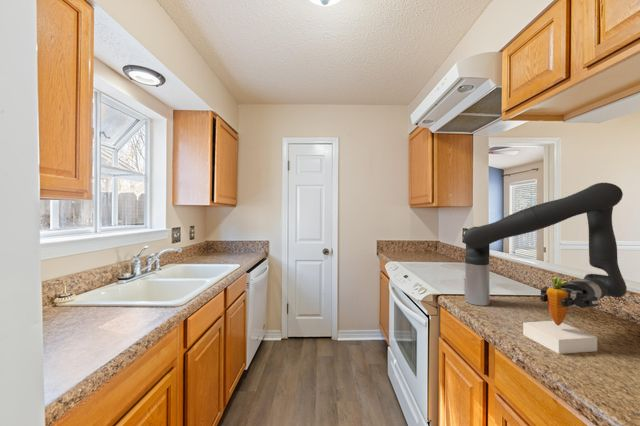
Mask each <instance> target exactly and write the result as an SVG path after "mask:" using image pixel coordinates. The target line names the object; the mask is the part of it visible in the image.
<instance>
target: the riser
mask: <svg viewBox="0 0 640 426" xmlns="http://www.w3.org/2000/svg"><path fill="white" fill-rule="evenodd" d="M522 323H523V325H522V326H523V327H522V328H523V329H522V330H523V336H525V337H526V338H529V339H530V340H532V341H534V342H535V343H538V344H540V345H542V346H544V347H545V348H547V349H549V350H550V351H553V352H554V353H556V354H558V355H559V354H560V355H563V354H564V355H565V354H577V353H588V352H591V353H592V352H598V337H597V336H595V335H593V334H590V333H588V332H586V331H583V330H582V329H581V330H580V329H578V328H576V327H574V326H571V325H570V324H567V323H564V322H562V323H561V324H560V325H559V326H557V325H556V324H555V322H554V321H553V320H541V321H529V322H528V321H526V322H522Z"/></svg>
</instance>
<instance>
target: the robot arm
mask: <svg viewBox="0 0 640 426" xmlns="http://www.w3.org/2000/svg"><path fill="white" fill-rule="evenodd" d="M623 195H624V193H623V190H622V189H621V188H620V187H619V186H618V185H616V184H614V183H611V182H597V183H594V184H591V185H590V186H588V187H586V188H584V189H582V190H580V191H578V192H575V193H573V194H570V195H567V196H566V197H562V198H558V199H554V200H549V201H546V202H542V203H539V204H538V203H537V204H536V205H532V206H529V207H526V208H524V209H521V210H518V211H516V212H513V213H512V214H509V215H507V216H505V217H503V218H502V219H499V220H496V221H495V222H492V223H487V224H484V225H481V226H480V225H479V226H473V227H469V228H468V229H467V230H466V231H465V232H464V234H463V242H464V244H465V256H464V269H465V270H464V272H465V275H464V277H465V278H464V280H463V281H464V282H463V283H464V286H463V287H464V288H463V289H464V300H465V302H466V303H468V304H471V305H476V306H489V305H490V304H491V303H490V302H491V300H490V297H491V296H490V293H491V289H490V286H491V285H490V255H491V254H490V245H491V244H493V243H495V242H497V241H501V240H503V239H508V238H512V237H517V236H522V235H524V234H529V233H532V232H536V231H539V230H542V229H545V228H548V227H551V226H554V225H556V224H559V223H561V222H563V221H565V220H568V219H570V218H572V217H577V216H580V215H582V214H586V217H587V224H588V225H587V226H588V262H589V266H591V267H593V268H596V269H598V270H599V269H600V270H602V271H604V272H605V273H606V274H599V273H588V274H585V276H584V278H583V279H576V280H572V281H567V282H568V283H565V284H564V285H562V287H561V289H564V290H566V291H567V292H568V298H565V299H562V307H568V308H569V307H578V308H581V309H585V308H593V307H598V306H599V300H601V299H603V298H605V297H606V296H607V297H612V298H621V297H624V296H625V295H626V293H627V284H626V282H625V279H624V277H623V274H622V272H621V270H620V266H619V261H618V259H619V258H618V246H617V240H616V236H615V232H614V227H613V210H614V207H615V206H616V205H618V204H619V203H620V201H622V199H623ZM549 288H550V287H548V286H543V287H542V288H541V289H540V301H541V302H543V303H546V302H547V289H549Z"/></svg>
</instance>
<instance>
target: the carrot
mask: <svg viewBox="0 0 640 426" xmlns="http://www.w3.org/2000/svg"><path fill="white" fill-rule="evenodd" d="M550 280H551V282H552V284H553V287H548V288H549V289H547V307H548V311H549V314H550V316H551V320H552V321H554V322H555V324H556V325H557V326H559V325H560V324H561V323H564V322H563V321H564V320H565V318H566V316H567V312H568V308H569V306H568V307H562V299H565V298H568V292H567V291H566V290H564V289H561V287H562V285H564V284H565V283H568V282H569V281H567V280H564V281H562V277H561V276H560V277H554V276H553V277H551V279H550ZM561 281H562V282H561Z"/></svg>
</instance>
